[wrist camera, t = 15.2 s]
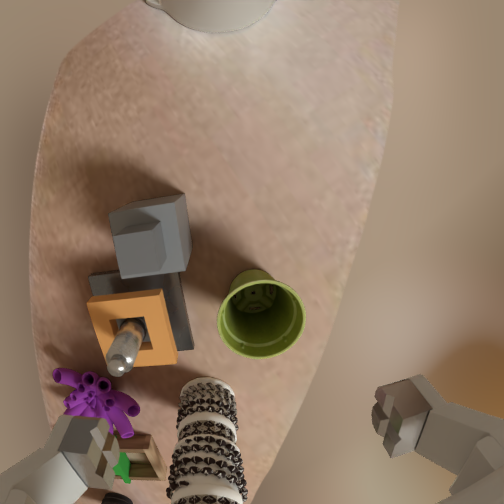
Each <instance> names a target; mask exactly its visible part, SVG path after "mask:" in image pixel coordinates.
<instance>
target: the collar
mask: <svg viewBox="0 0 504 504" xmlns="http://www.w3.org/2000/svg"><path fill="white" fill-rule="evenodd" d="M86 304H87V307H88V311H89V314H90V317H91V320H92V323H93V326H94V329H95V332H96V335H97V338H98V341H99V344H100V347H101V349H102V352H103V355H104V358H105V360H106V354H107V352H108V350H109V348H110V346H111V344H112V342H113V340H114V339H115V337H116V335H117V333H118V331H119V328H118V325H117V322H116V319H122V318H133V317H143V316H144V318H145V322H146V325H147V329H148V333H149V336H150V340H151V341H149V342H142V344H141V346H140V349H139V352H138V354H137V357H136V360H135V362H134V365H133V367H140V366H155V365H168V364H177V358H178V352H177V349H176V345H175V341H174V337H173V333H172V329H171V325H170V321H169V316H168V312H167V308H166V303H165V299H164V295H163V290H162V288H161V289H152V290H144V291H136V292H127V293H118V294H110V295H101V296H92V297H91V298H90V299H89V301H88V302H87V303H86ZM106 363H107V362H106ZM107 365H108V364H107Z"/></svg>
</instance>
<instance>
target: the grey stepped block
mask: <svg viewBox="0 0 504 504" xmlns="http://www.w3.org/2000/svg"><path fill="white" fill-rule="evenodd" d="M108 216H109V221H110V227H111V232H112V237H113V242H114V247H115V252H116V256H117V261H118V265H119V270H120V274H121V278H122V279H126V278H134V277H142V276H149V275H157V274H165V273H173V272H180V271H186V268H187V265H188V261H189V258H190V255H191V251H192V248H193V245H192V239H191V233H190V226H189V220H188V213H187V206H186V199H185V194H178V195H172V196H165V197H159V198H153V199H147V200H141V201H135V202H131V203H129V204H127V205H125V206H123V207H121V208H118V209H116V210H114V211H112V212H110V213H108Z"/></svg>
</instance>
